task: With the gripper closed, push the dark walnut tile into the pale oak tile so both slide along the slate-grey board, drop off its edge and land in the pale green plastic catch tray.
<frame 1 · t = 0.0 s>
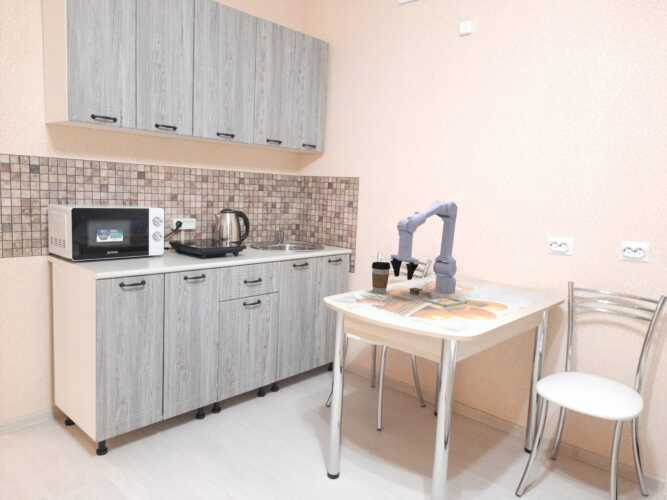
hand: (403, 278, 219), 10 cm above the table, tool pointing down, fingers open, 7 cm apart
slate board: (420, 298, 227), on the table
catch tray: (444, 304, 217), on the table
coffee cup: (378, 295, 230), on the table
walnut tile: (415, 294, 230), point 1 cm above the table, touching slate board
oak tile: (425, 296, 225), point 1 cm above the table, touching slate board
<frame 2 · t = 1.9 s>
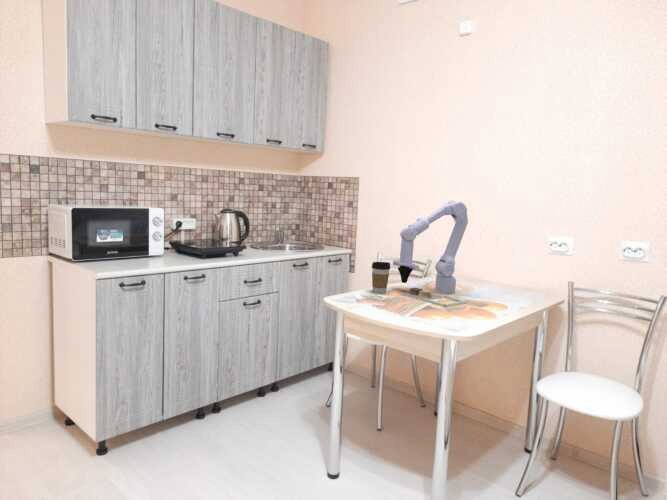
hand: (404, 282, 235), 5 cm above the table, tool pointing down, fingers closed
nothing on the table moved.
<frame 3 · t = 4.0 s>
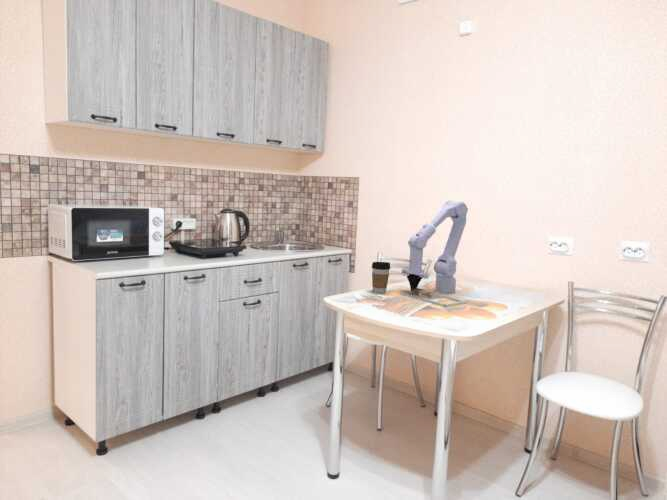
hand: (413, 291, 231), 2 cm above the table, tool pointing down, fingers closed
walnut tile: (418, 294, 228), point 1 cm above the table, touching gripper, oak tile, slate board
oak tile: (425, 296, 225), point 1 cm above the table, touching slate board, walnut tile
everything else where it was.
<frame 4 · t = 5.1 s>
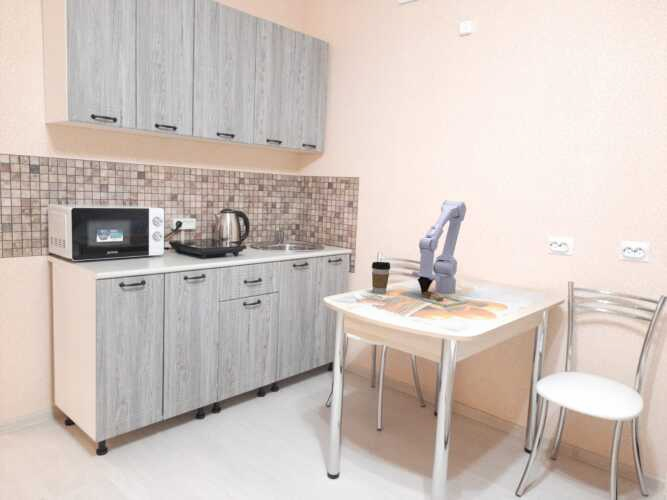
hand: (424, 294, 226), 2 cm above the table, tool pointing down, fingers closed
walnut tile: (429, 297, 223), point 1 cm above the table, touching gripper
oak tile: (436, 300, 221), point 1 cm above the table, tilted 14°
everything else where it was.
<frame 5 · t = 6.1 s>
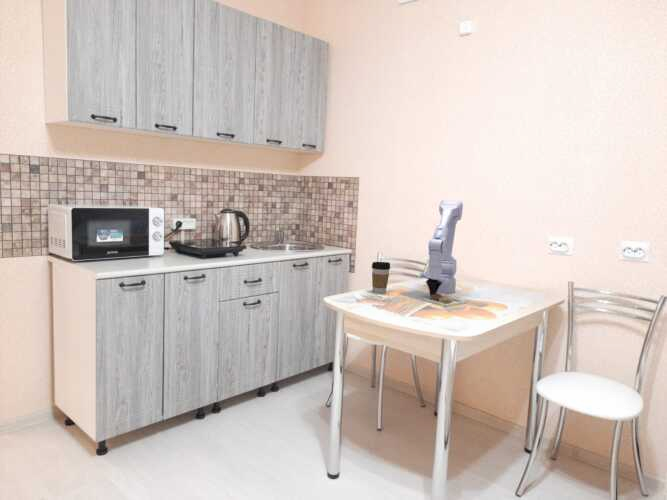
hand: (432, 296, 222), 2 cm above the table, tool pointing down, fingers closed
walnut tile: (436, 300, 220), point 1 cm above the table, tilted 13°, touching catch tray, gripper, oak tile
oak tile: (445, 304, 217), resting on catch tray, touching walnut tile
everything else where it was.
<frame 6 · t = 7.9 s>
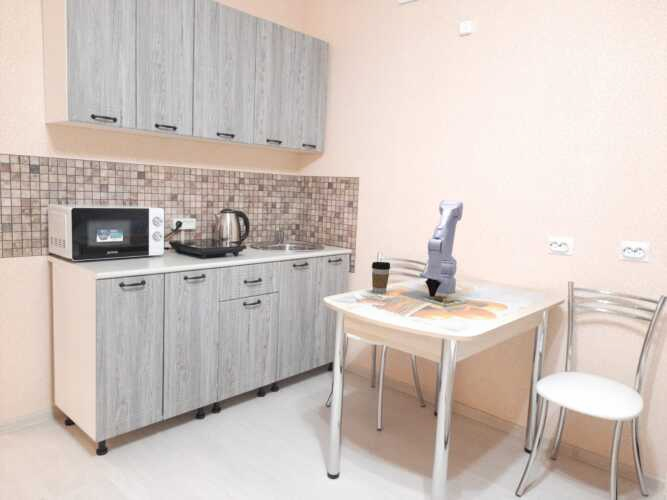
hand: (432, 296, 222), 2 cm above the table, tool pointing down, fingers closed
walnut tile: (440, 302, 219), resting on catch tray
oak tile: (448, 305, 215), resting on catch tray
everything else where it was.
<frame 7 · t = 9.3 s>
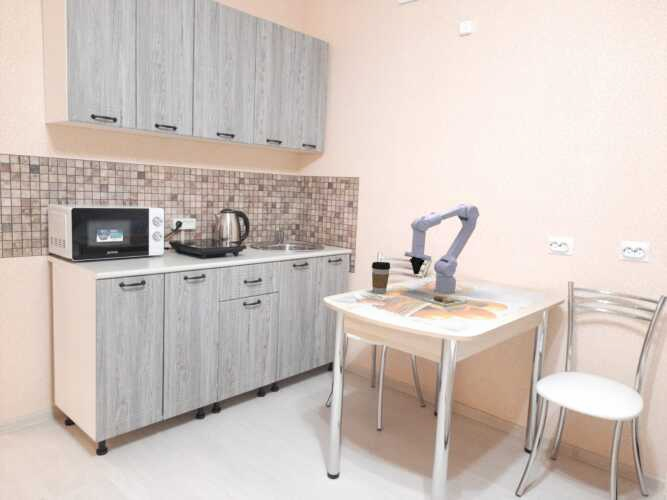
hand: (416, 274, 232), 10 cm above the table, tool pointing down, fingers closed
nothing on the table moved.
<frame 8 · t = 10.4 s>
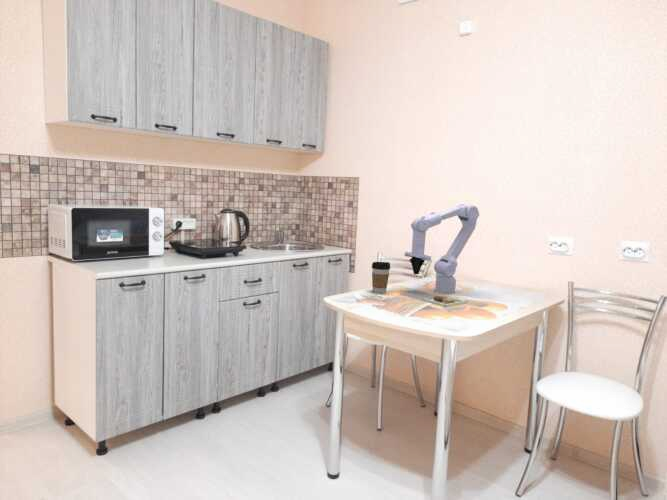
hand: (416, 274, 232), 10 cm above the table, tool pointing down, fingers closed
nothing on the table moved.
at the end: walnut tile inside the target area (2.8 cm from its centre), resting on catch tray; oak tile inside the target area (1.7 cm from its centre), resting on catch tray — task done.
